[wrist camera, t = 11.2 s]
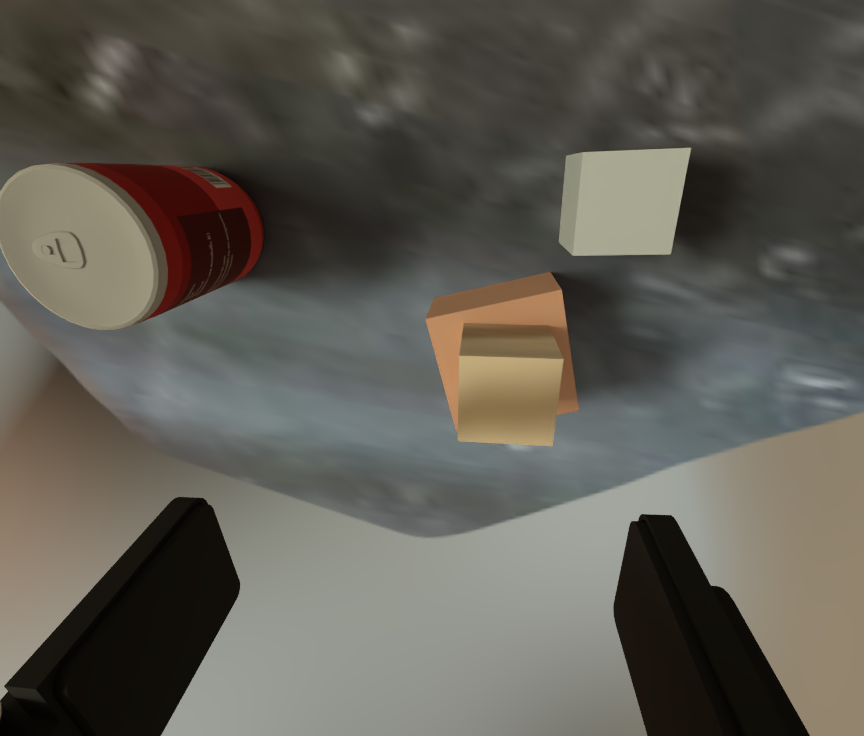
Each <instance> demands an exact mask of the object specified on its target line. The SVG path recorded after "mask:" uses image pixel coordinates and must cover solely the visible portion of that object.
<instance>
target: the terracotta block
mask: <svg viewBox="0 0 864 736" xmlns="http://www.w3.org/2000/svg"><path fill="white" fill-rule="evenodd" d="M426 323H427V326H428V330H429V333H430V337H431V341H432V344H433V348H434V352H435V355H436V359H437V363H438V366H439V370H440V374H441V377H442V381H443V385H444V388H445V392H446V396H447V399H448V403H449V407H450V410H451V414H452V418H453V421H454V425H455V429H456V430H458V395H459V354H460V346H461V338H462V331H463V323H472V324H511V325H549V326H550V329H551V331H552V333H553V336H554V338H555V340H556V343H557V345H558V347H559V350H560V352H561V354H562V357H563V359H564V360H563V368H562V376H561V384H560V391H559V399H558V407H557V414H564V413H570V412H576V411H579V407H578V400H577V393H576V386H575V379H574V372H573V365H572V358H571V351H570V344H569V337H568V330H567V323H566V316H565V309H564V302H563V295H562V289H561V288H560V286H559V285H558V283H557V281H556V280H555V278H554V277H553V275H552V274H551V272H548V273H543V274H539V275H534V276H530V277H525V278H521V279H516V280H512V281H508V282H503V283H499V284H494V285H490V286H485V287H481V288H476V289H472V290H468V291H463V292H459V293H454V294H450V295H445V296H441V297H436V298H434V300H433V302H432V304H431V307H430V309H429V312H428V314H427V317H426Z"/></svg>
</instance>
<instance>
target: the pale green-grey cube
mask: <svg viewBox="0 0 864 736" xmlns="http://www.w3.org/2000/svg"><path fill="white" fill-rule="evenodd" d="M690 151H691V148H674V149H650V150H626V151H602V152H582V153H577V154H573V155H568V156H566V164H565V176H564V188H563V199H562V211H561V223H560V235H559V243H560V244H561V245H562V246H563V247H564V248H565V249H566V250H567V251H568V252H569V253H570V254H571V255H573V256H589V255H660V254H671V250H672V245H673V240H674V235H675V229H676V224H677V219H678V214H679V208H680V203H681V198H682V193H683V188H684V182H685V177H686V172H687V167H688V161H689V156H690Z"/></svg>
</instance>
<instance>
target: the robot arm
mask: <svg viewBox="0 0 864 736" xmlns="http://www.w3.org/2000/svg"><path fill="white" fill-rule="evenodd" d="M239 590H240V581H239V579H238V576H237V573H236V570H235V567H234V564H233V562H232V559H231V556H230V553H229V551H228V548H227V545H226V542H225V540H224V537H223V534H222V532H221V529H220V526H219V523H218V520H217V518H216V515H215V512H214V509H213V508H212V506H211V505H208V503H207V502H206V500H205V499H203V498H188V497H178V498H175V499H174V500H172V501H171V502H170V503H169V504H168V505H167V507H166V508H165V509H164V510H163V511H162V512H161V513H160V514H159V516H157V518H156V519H155V520H154V521H153V522H152V523H151V524H150V525H149V527H147V529H146V530H145V531H144V532H143V533H142V534H141V535H140V536H139V537H138V539H137V540H136V541H135V542H134V543H133V544H132V546H130V548H129V549H128V550H127V551H126V552H125V553H124V554H123V555H122V556H121V558H119V560H118V561H117V562H116V563H115V564H114V565H113V567H111V569H110V570H109V571H108V572H107V573H106V574H105V575H104V576H103V577H102V578H101V580H100V581H99V582H98V583H97V584H96V585H95V586H94V587H93V589H91V591H90V592H89V593H88V594H87V595H86V596H85V597H84V598H83V600H82V601H81V602H80V603H79V604H78V605H77V606H76V607H75V608H74V609H73V611H72V612H71V613H70V614H69V615H68V616H67V617H66V618H65V619H64V620H63V622H62V623H61V624H60V625H59V626H58V627H57V628H56V629H55V630H54V632H53V633H52V634H51V635H50V636H49V637H48V638H47V639H46V640H45V642H44V643H43V644H42V645H41V646H40V647H39V648H38V649H37V650H36V652H35V653H34V654H33V655H32V656H31V657H30V658H29V659H28V660H27V662H26V663H25V664H24V665H23V666H22V667H21V668H20V669H19V671H17V673H16V674H15V675H14V676H13V677H12V678H11V679H10V680H9V681H8V682H7V684H6V685H5V686H4V687H5V688H6V689H7V690H8V692H7V693H6V695H5V696H4V697H3V698H2V699H1V700H0V736H161V734H162V732H163V731H164V729H165V727H166V725H167V723H168V721H169V720H170V718H171V716H172V714H173V713H174V711H175V709H176V707H177V705H178V704H179V702H180V700H181V698H182V696H183V695H184V693H185V691H186V689H187V687H188V686H189V684H190V682H191V680H192V678H193V677H194V675H195V673H196V671H197V669H198V668H199V666H200V664H201V662H202V660H203V659H204V657H205V655H206V653H207V651H208V650H209V648H210V646H211V644H212V642H213V641H214V639H215V637H216V635H217V633H218V632H219V630H220V628H221V626H222V624H223V623H224V621H225V619H226V617H227V615H228V614H229V612H230V610H231V608H232V606H233V605H234V603H235V601H236V599H237V597H238V594H239ZM614 618H615V623H616V627H617V630H618V634H619V637H620V641H621V644H622V648H623V651H624V655H625V658H626V661H627V665H628V669H629V672H630V676H631V679H632V683H633V686H634V690H635V693H636V697H637V700H638V704H639V707H640V710H641V714H642V718H643V721H644V725H645V728H646V732H647V735H648V736H810V735H809V733H808V732H807V730H806V728H805V726H804V725H803V723H802V721H801V719H800V717H799V716H798V714H797V712H796V711H795V709H794V707H793V705H792V703H791V702H790V700H789V698H788V696H787V694H786V693H785V691H784V689H783V687H782V686H781V684H780V682H779V680H778V679H777V677H776V675H775V673H774V671H773V670H772V668H771V666H770V664H769V663H768V661H767V659H766V657H765V656H764V654H763V652H762V650H761V649H760V647H759V645H758V643H757V642H756V640H755V638H754V636H753V634H752V633H751V631H750V629H749V628H748V626H747V624H746V622H745V620H744V619H743V617H742V615H741V613H740V612H739V610H738V608H737V606H736V604H735V603H734V601H733V600H732V598H731V597H730V595H729V594H728V593H727V592H726V591H725V590H724V589H723V588H721V587H718V586H711V585H710V584H709V582H708V579H707V578H706V576H705V574H704V572H703V570H702V568H701V567H700V564H699V563H698V561H697V559H696V557H695V555H694V553H693V551H692V549H691V548H690V546H689V544H688V542H687V540H686V538H685V537H684V534H683V533H682V531H681V529H680V527H679V525H678V523H677V522H676V520H675V519H674V517H672V516H671V515H645V514H642V515H641V516H640V517H639V521H632V522H631V523H630V527H629V532H628V536H627V542H626V547H625V551H624V557H623V561H622V566H621V571H620V576H619V581H618V586H617V591H616V596H615V601H614Z"/></svg>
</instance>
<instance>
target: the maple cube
mask: <svg viewBox="0 0 864 736" xmlns="http://www.w3.org/2000/svg"><path fill="white" fill-rule="evenodd" d="M563 360H564V359H563V357H562V354H561V352H560V350H559V347H558V345H557V343H556V340H555V338H554V336H553V333H552V331H551V329H550V326H549V325H511V324H472V323H463V331H462V338H461V346H460V354H459V395H458V441H464V442H483V443H502V444H520V445H539V446H553V438H554V430H555V423H556V415H557V407H558V399H559V391H560V384H561V376H562V368H563Z"/></svg>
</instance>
